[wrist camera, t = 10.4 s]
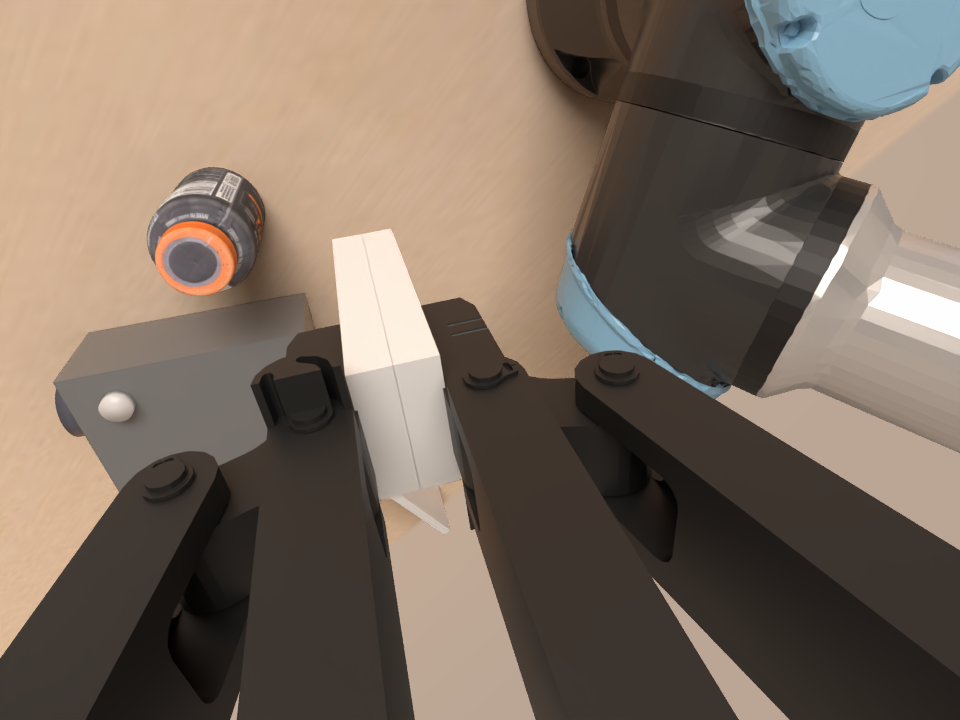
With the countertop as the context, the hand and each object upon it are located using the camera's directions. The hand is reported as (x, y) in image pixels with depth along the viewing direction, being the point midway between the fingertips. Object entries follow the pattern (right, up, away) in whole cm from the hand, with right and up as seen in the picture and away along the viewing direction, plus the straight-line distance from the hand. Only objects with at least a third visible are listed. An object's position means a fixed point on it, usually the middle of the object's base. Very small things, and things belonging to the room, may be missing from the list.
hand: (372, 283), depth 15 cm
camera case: (-18, -3, +32) cm, 37 cm away
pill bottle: (-16, +9, +25) cm, 31 cm away
